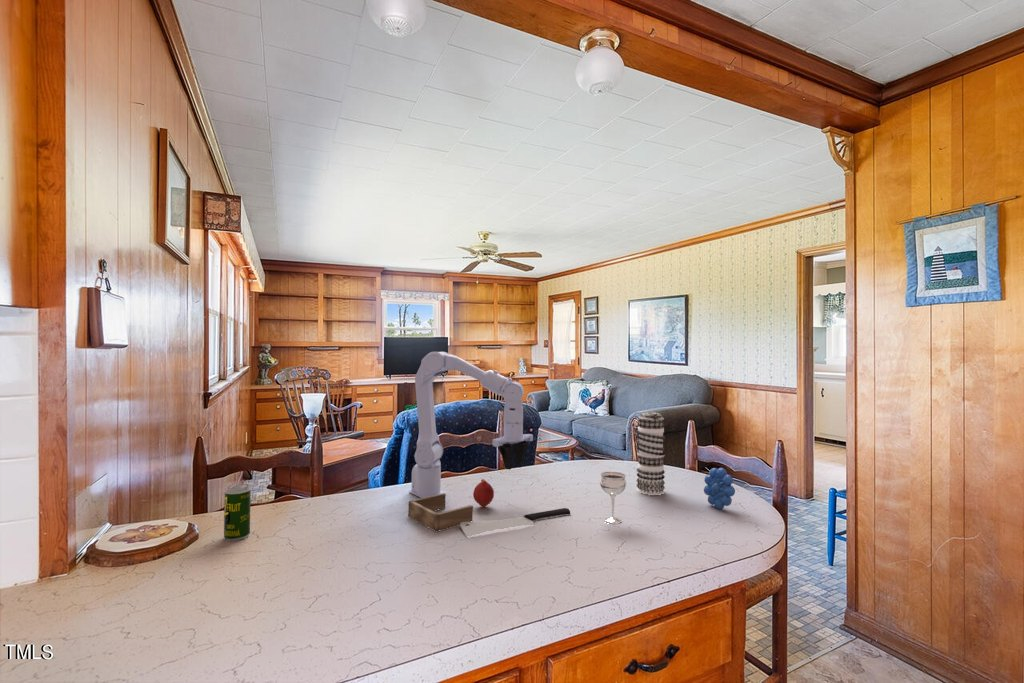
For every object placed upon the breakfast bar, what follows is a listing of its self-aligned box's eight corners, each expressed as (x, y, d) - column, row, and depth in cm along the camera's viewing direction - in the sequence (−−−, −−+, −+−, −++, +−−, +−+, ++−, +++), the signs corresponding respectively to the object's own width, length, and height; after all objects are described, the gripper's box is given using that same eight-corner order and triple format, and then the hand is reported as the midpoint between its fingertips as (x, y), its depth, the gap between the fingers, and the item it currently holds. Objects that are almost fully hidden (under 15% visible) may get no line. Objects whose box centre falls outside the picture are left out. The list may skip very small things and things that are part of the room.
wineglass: (615, 527, 120) (615, 480, 120) (594, 519, 125) (594, 474, 125) (631, 521, 125) (631, 475, 125) (610, 514, 130) (610, 470, 130)
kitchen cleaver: (470, 539, 111) (457, 520, 120) (470, 546, 111) (457, 526, 120) (583, 520, 124) (563, 504, 133) (582, 526, 124) (563, 510, 133)
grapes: (746, 514, 131) (746, 470, 131) (726, 516, 129) (726, 472, 129) (717, 501, 142) (717, 460, 142) (698, 502, 140) (698, 462, 140)
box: (408, 516, 127) (408, 501, 127) (443, 507, 134) (443, 493, 134) (436, 531, 116) (436, 515, 116) (472, 521, 123) (472, 505, 123)
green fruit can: (231, 532, 114) (232, 483, 114) (254, 532, 115) (255, 483, 115) (218, 542, 109) (219, 489, 109) (242, 542, 109) (243, 489, 109)
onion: (484, 502, 139) (484, 475, 139) (497, 507, 135) (498, 479, 135) (469, 506, 135) (469, 478, 135) (482, 512, 130) (482, 483, 131)
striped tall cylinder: (631, 487, 155) (631, 411, 155) (658, 487, 156) (658, 411, 156) (641, 496, 146) (642, 415, 146) (670, 495, 147) (671, 414, 147)
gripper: (503, 426, 134) (502, 474, 134) (540, 421, 144) (539, 466, 144) (488, 423, 140) (487, 469, 139) (524, 418, 149) (524, 462, 149)
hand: (513, 467), depth 142 cm, fingers open, 3 cm apart
